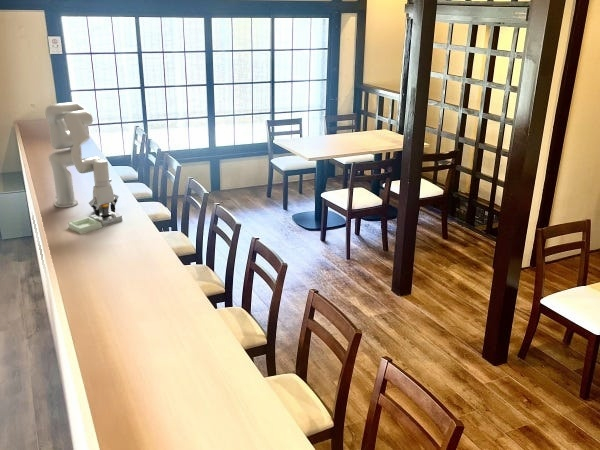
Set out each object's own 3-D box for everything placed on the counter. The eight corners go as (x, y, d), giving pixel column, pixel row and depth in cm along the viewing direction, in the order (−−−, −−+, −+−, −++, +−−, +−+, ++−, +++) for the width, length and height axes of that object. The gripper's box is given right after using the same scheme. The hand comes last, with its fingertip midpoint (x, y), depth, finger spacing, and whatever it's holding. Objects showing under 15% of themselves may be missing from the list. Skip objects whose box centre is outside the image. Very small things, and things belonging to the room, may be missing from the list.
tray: (68, 227, 294) (67, 222, 293) (89, 221, 302) (88, 217, 301) (80, 233, 286) (80, 228, 285) (101, 227, 295) (101, 222, 294)
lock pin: (100, 220, 304) (98, 203, 300) (107, 218, 307) (105, 201, 304) (104, 223, 301) (103, 205, 298) (112, 220, 305) (110, 203, 301)
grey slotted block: (90, 221, 304) (89, 215, 302) (109, 215, 312) (109, 210, 311) (102, 226, 296) (101, 221, 295) (122, 220, 305) (121, 215, 304)
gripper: (112, 178, 305) (115, 208, 311) (83, 185, 293) (87, 216, 299) (120, 181, 301) (123, 211, 307) (91, 188, 288) (94, 219, 294)
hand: (105, 213), depth 303 cm, fingers open, 8 cm apart
